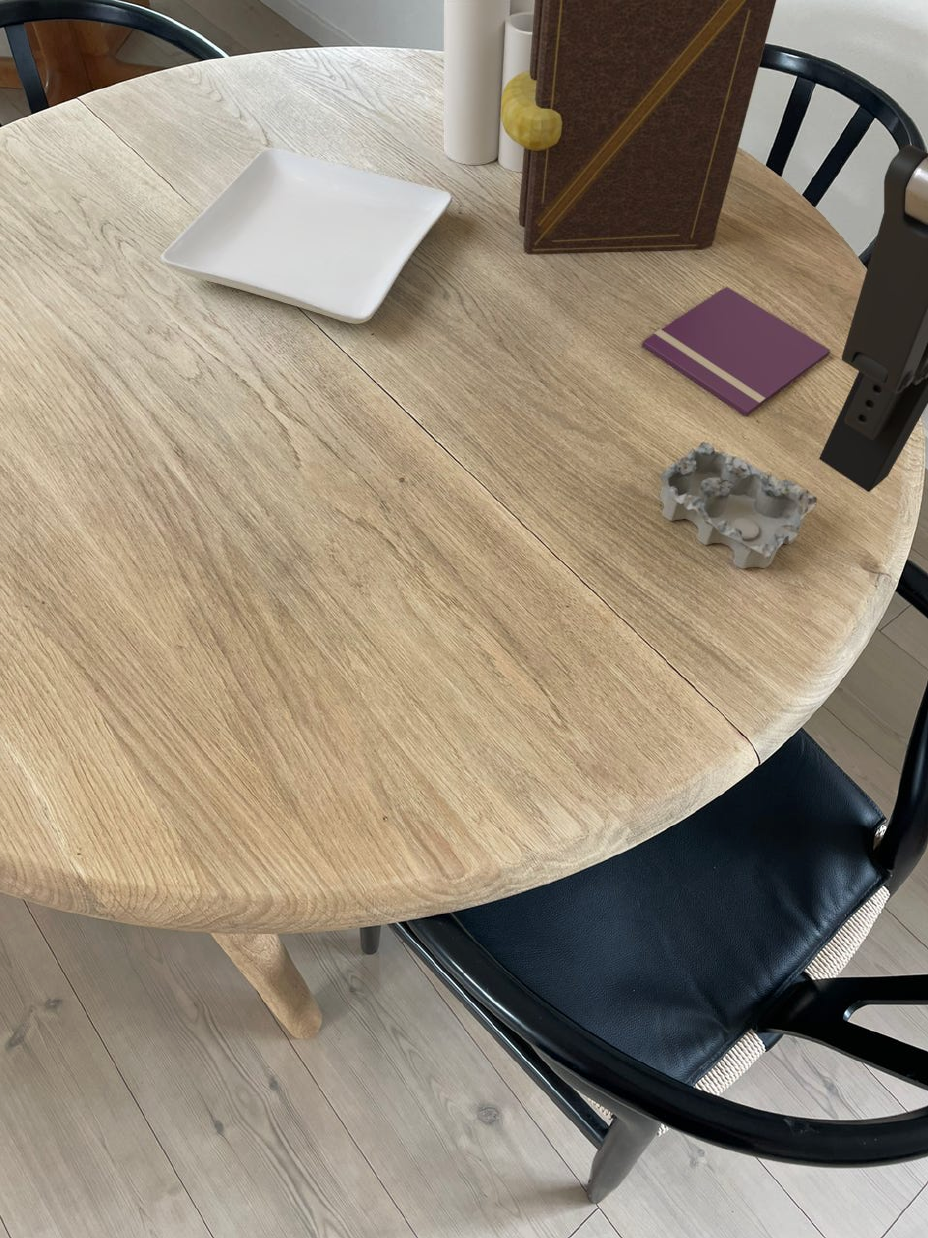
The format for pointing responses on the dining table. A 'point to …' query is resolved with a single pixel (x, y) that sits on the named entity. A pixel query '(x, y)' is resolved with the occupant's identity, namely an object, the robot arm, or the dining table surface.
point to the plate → (309, 233)
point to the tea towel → (736, 350)
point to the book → (632, 120)
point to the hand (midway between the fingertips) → (853, 467)
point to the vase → (483, 76)
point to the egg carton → (734, 504)
